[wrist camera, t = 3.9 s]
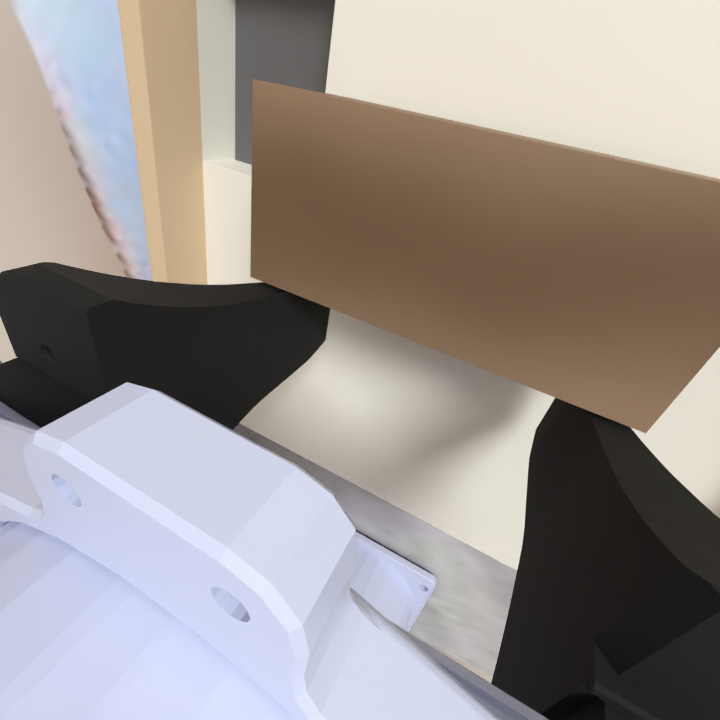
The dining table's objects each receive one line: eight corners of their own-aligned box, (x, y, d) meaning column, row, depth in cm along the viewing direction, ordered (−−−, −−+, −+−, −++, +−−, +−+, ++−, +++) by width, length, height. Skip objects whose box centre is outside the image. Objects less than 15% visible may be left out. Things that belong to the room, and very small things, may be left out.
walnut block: (622, 342, 10) (646, 433, 7) (329, 242, 13) (250, 276, 9) (731, 181, 8) (838, 208, 5) (349, 97, 10) (252, 79, 7)
